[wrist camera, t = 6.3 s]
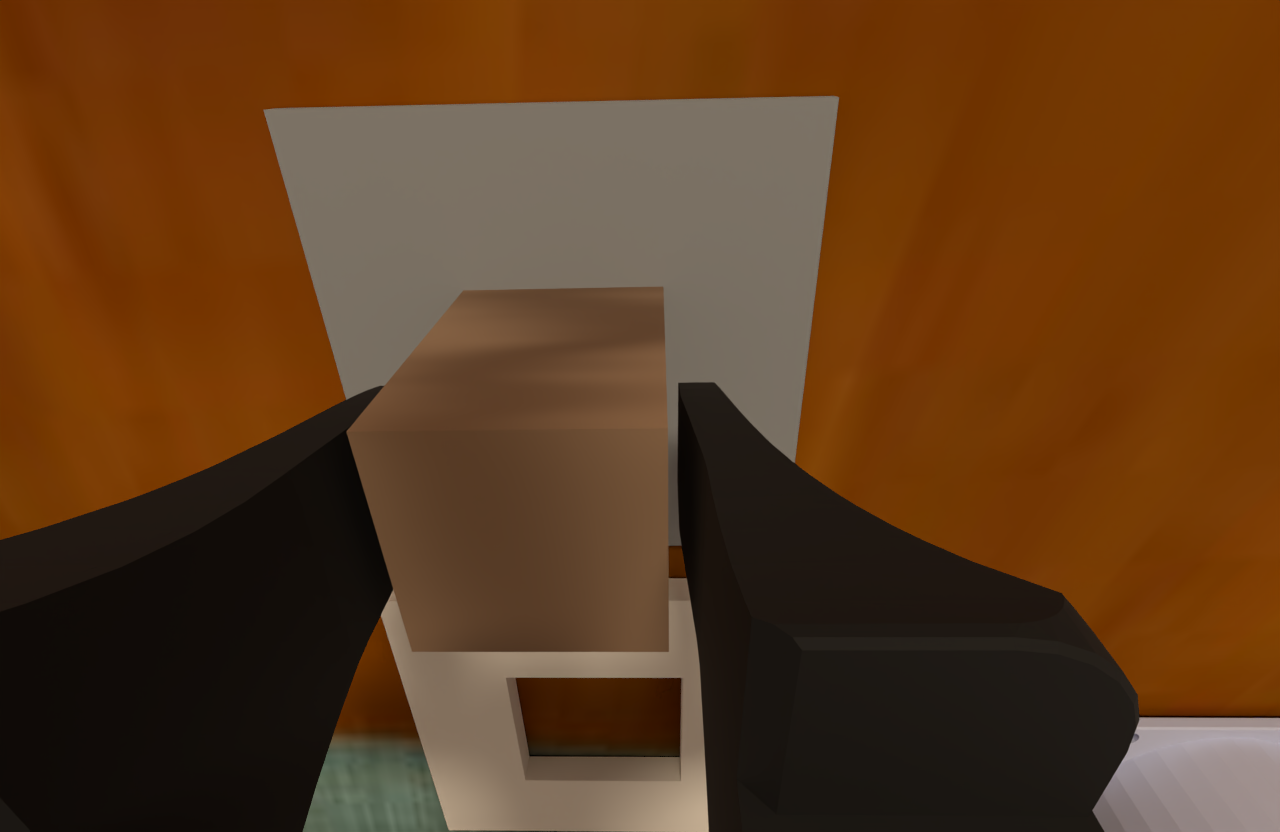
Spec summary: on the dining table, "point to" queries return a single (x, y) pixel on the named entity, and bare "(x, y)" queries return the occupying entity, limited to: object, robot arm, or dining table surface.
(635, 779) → the pocket plate
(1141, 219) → the dining table surface
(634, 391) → the block
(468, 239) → the mat
